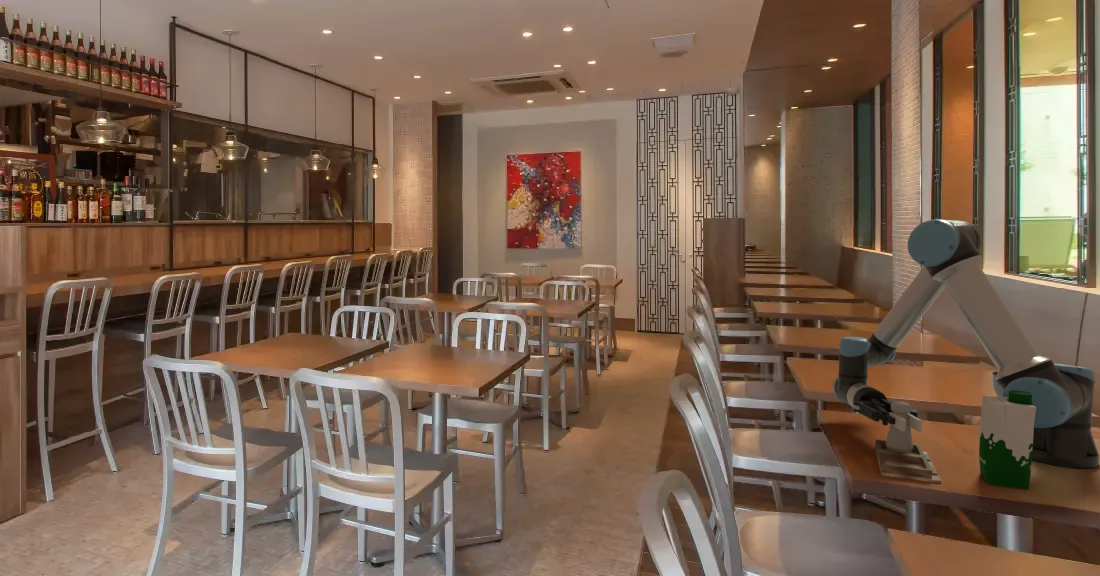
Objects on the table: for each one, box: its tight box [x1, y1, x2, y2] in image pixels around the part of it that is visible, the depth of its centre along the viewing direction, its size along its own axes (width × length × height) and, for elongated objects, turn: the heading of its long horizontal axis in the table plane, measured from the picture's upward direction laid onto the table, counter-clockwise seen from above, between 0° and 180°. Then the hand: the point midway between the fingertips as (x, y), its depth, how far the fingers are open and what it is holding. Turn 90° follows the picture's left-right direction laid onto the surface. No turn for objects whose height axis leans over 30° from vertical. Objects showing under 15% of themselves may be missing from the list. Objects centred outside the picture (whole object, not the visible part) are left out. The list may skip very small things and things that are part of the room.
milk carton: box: [978, 390, 1036, 490], centre depth 133 cm, size 9×9×20 cm
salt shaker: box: [885, 400, 914, 454], centre depth 149 cm, size 6×6×13 cm
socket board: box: [874, 439, 942, 484], centre depth 144 cm, size 11×20×2 cm, turn 156°
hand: (911, 425), depth 143 cm, fingers closed on salt shaker, 3 cm apart
